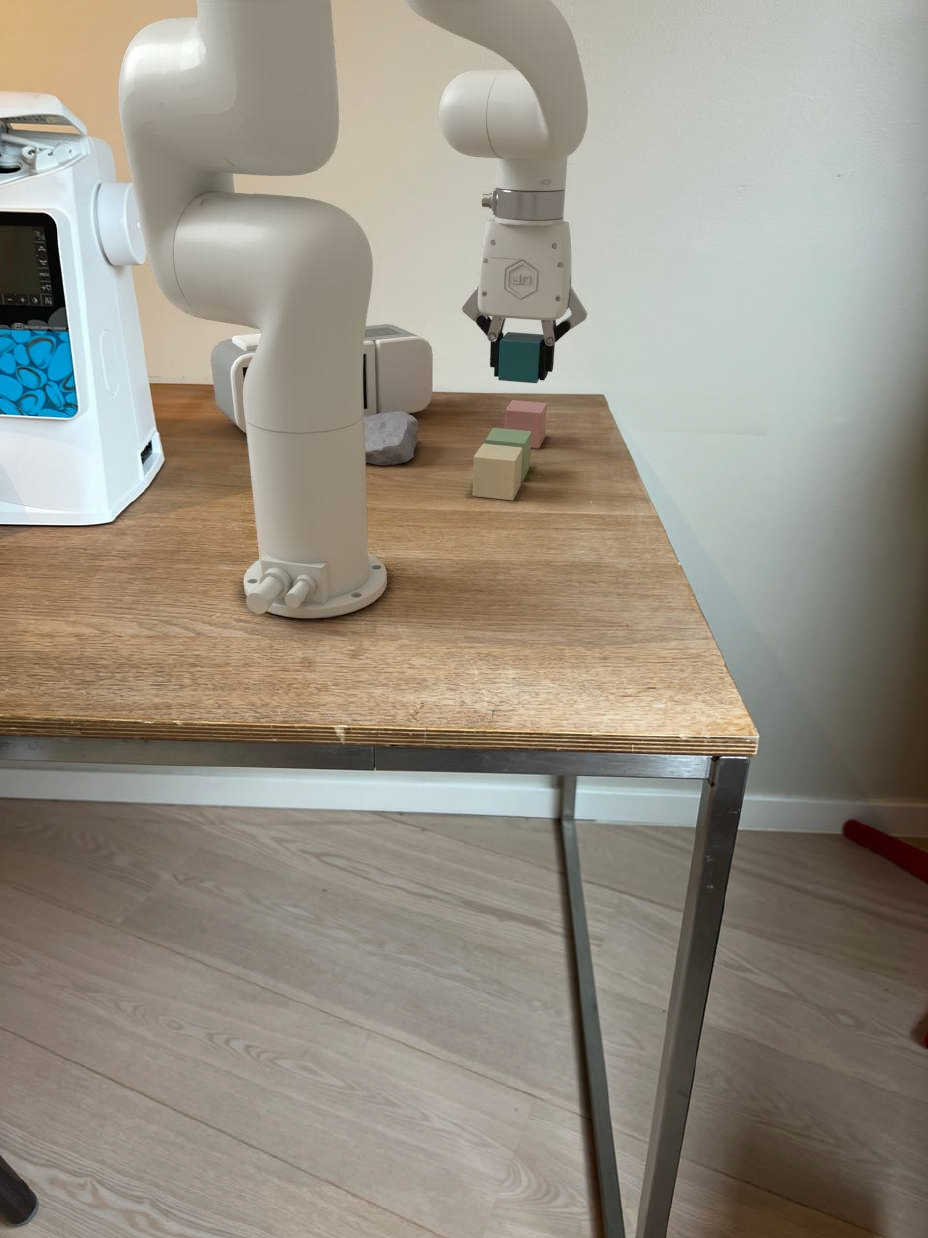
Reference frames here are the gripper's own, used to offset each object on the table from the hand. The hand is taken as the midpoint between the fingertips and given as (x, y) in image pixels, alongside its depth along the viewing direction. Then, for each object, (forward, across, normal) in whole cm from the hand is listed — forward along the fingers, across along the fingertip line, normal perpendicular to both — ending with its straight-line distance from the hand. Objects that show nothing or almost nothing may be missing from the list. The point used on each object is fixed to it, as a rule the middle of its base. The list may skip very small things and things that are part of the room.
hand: (521, 373), depth 107 cm
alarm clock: (+10, -27, +6) cm, 30 cm away
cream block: (+10, 0, -12) cm, 16 cm away
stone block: (+10, -18, -4) cm, 21 cm away
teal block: (0, 0, 0) cm, 0 cm away
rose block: (+10, 0, +6) cm, 12 cm away
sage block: (+10, 0, -6) cm, 12 cm away
